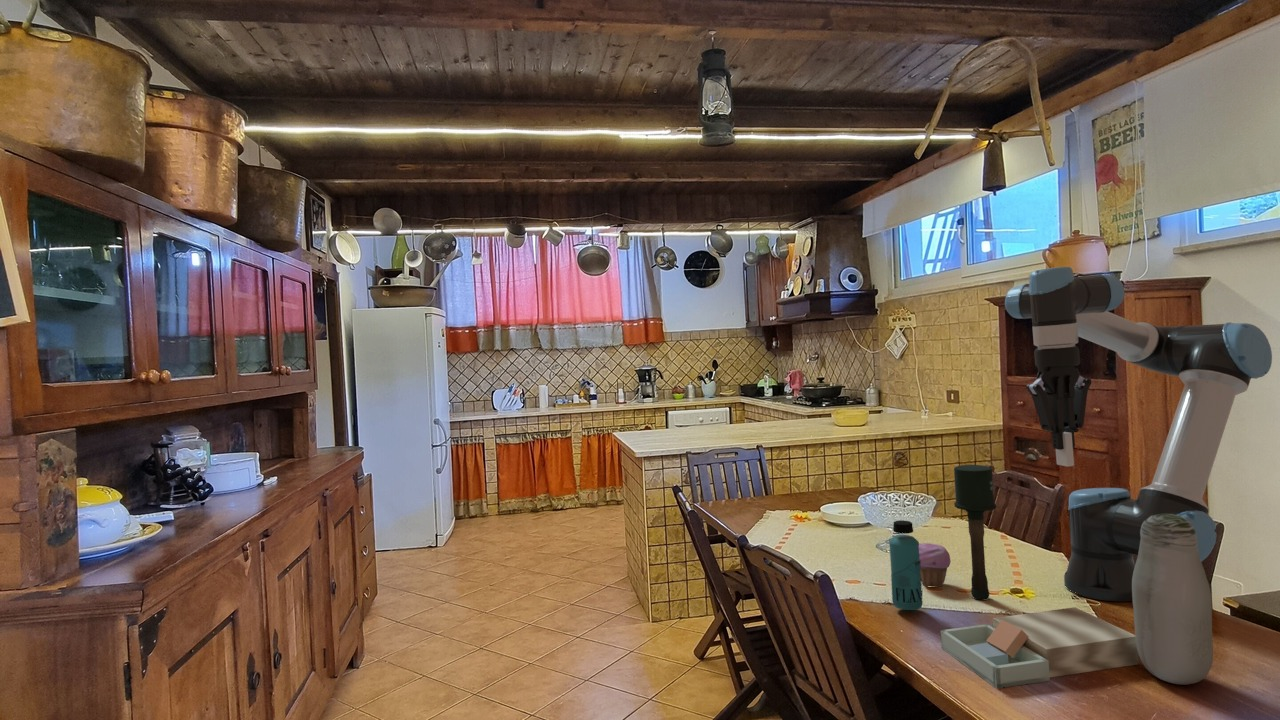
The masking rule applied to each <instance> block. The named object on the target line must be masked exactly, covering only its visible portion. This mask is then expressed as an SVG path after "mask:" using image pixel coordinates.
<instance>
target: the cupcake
mask: <svg viewBox="0 0 1280 720" xmlns="http://www.w3.org/2000/svg"><path fill="white" fill-rule="evenodd" d="M950 555H951V554H950V553H949V552H948V550H947V548H946V547H945V546H943V545H942V544H935V543H929V542H927V543H923V542H922V543H919V556H920V560H921V562H920V566H921V567H920V568H921V569H920V572H921V578H922V579H921V580H922V581H921V584H923V585H924V587H926V586H937V587H941V586H942V585H943V584H944V583H945V580H946V577H947V572H948V571H947V570H948V568H949V567H950V565H951V562H952V561H951V556H950Z"/></svg>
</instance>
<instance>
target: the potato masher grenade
mask: <svg viewBox="0 0 1280 720" xmlns="http://www.w3.org/2000/svg"><path fill="white" fill-rule="evenodd" d="M953 472H954V473H953V475H954V476H953V477H954V478H953V479H954V492H955V494H954V495H955V502H954V503H953V504H954V505H953V506H954V507H955V508H957V510H958V509H960V510H963V511H965V512H966V513H967V520H968V521H967V523H968V525H967V526H968V534H969V537H970V538H969V539H970V551H971V553H970V554H971V568H972V569H971V570H972V573H971V591H970V593H971V596H972V598H973V597H974V599H975V598H976V599H975V600H977V599H987V600H988V599H989V596H990V591H989V582H988V577H987V574H986V562H985V561H986V559H985V558H986V557H985V543H984V541H985V540H984V537H985V521H984V520H985V517H984V516H985V515H984V513H985V512H988V511H992V510H995V509H996V508H997V505H996V503H995V495H994V493H995V492H994V479H993V469H992V467H990V466H987V465H983V464H982V465H980V464H962V465H961V464H960V465H957V466H955V467H953Z"/></svg>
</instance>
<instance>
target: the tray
mask: <svg viewBox="0 0 1280 720" xmlns="http://www.w3.org/2000/svg"><path fill="white" fill-rule="evenodd" d="M994 630H995V628H993V626H992V625H990V624H988V623H987V624H986V623H985V624H977V625H971V626H963V627H957V628H955V627H954V628H949V629H948V628H947V629H941V630H940V646H941V649H942V651H943V650H944V651H945V652H946V653H947V654H949V655H950V656H951V657H952V658H954V659H955V660H957V661H958V662H960V663H961V664H962V665H964V666H965V667H967V668H968V669H969V670H971V671H972V672H974V674H976V675H977V676H979V677H980V678H982V680H984V681H985V682H987V683H988V684H990V685H991V686H992V687H994V688H995V689H998V688H999V689H1004V688H1003V687H1005V688H1010V686H1012V687H1018V685H1019V686H1025V685H1029V684H1038V683H1044V682H1050V681H1051V679H1050V678H1051V677H1049V661H1048V660H1046V659H1045V658H1043V657H1041V656H1040V655H1038V654H1036V653H1035V652H1033V651H1031V650H1030V649H1028V648H1026V647H1025V646H1023V645H1022V647H1021V648H1020V649H1019V651H1018V652H1017V653H1016V655H1015V656H1014V657H1013V659H1012V658H1011V657H1009V656H1008V664H1005V665H998V666H997V665H995V664H994V663H992V662H991V661H989V660H988V659H986V658H985V657H983V656H982V655H980V654H979V653H977V652H976V651H975V650H973V649H972V648H970V647H969V646H970V645H976V644H982V643H987V641H986V640H987V639H988V638H989V636H990V635H991V634H992V632H993V631H994Z"/></svg>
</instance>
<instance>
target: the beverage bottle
mask: <svg viewBox="0 0 1280 720" xmlns="http://www.w3.org/2000/svg"><path fill="white" fill-rule="evenodd" d="M892 527H893V528H892V529H893V532H894V533H897V535H894V536H892V537H891V538H890V539H889V541H888V542H889V543H888V544H889V557H890V558H889V559H890V572H891V574H890V582H891V601H892V604H893V606H894V607H895V608H897V609H901V610H905V611H916V610H919V609H921V608H922V607H923V603H924V601H923V588H922V584H923V583H922V582H921V581H922V580H921V579H922V578H921V572H920V569H921V568H920V567H921V566H920V562H921V560H920V556H919V544H920V542H919V540H917V539H916V538H915V537H914V536H913V535H908V534H912V533H913V532H914V526H913V522H912V521H909V520H895V521H893V526H892Z"/></svg>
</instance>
